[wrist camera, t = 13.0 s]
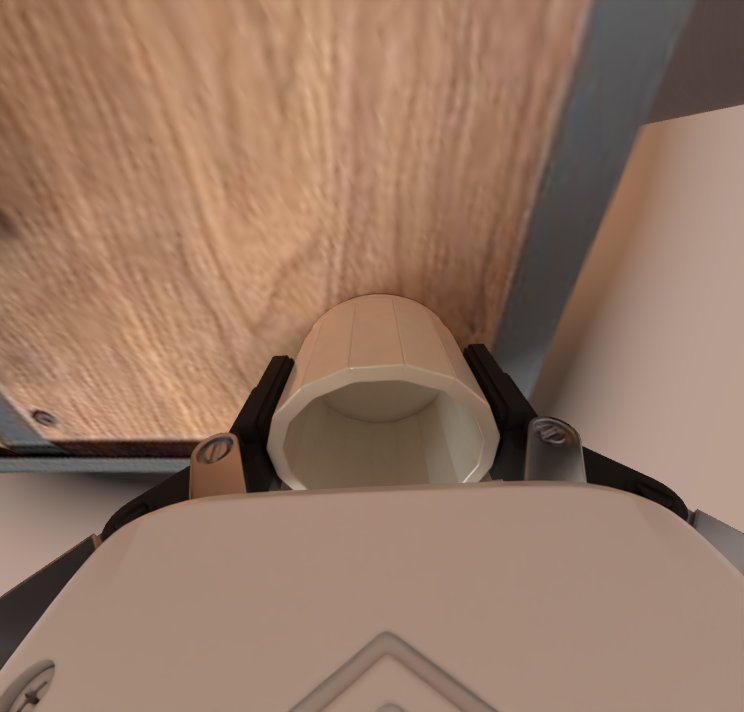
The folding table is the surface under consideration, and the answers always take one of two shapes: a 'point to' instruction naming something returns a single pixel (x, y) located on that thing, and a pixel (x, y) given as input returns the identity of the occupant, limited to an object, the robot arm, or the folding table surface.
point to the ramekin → (381, 403)
